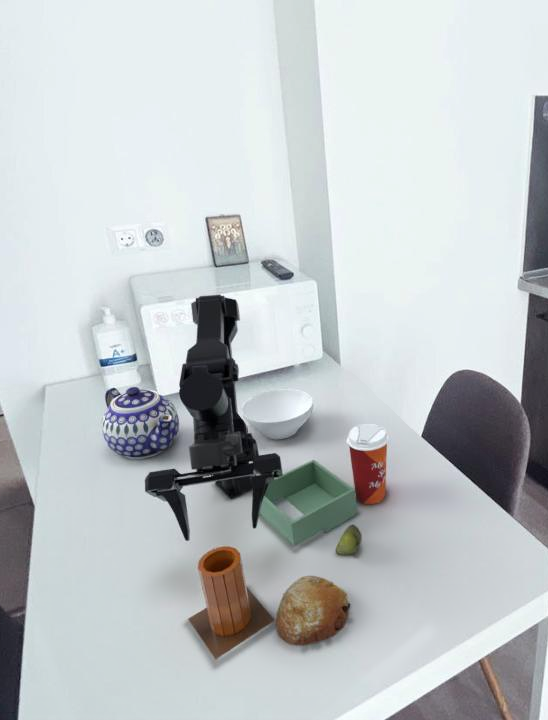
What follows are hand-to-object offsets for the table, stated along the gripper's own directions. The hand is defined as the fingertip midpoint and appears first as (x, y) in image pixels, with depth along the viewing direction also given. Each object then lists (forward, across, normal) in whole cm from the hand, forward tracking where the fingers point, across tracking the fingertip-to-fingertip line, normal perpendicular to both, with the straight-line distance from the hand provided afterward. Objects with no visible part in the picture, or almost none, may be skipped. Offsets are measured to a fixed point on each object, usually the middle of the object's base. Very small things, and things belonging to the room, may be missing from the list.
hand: (221, 534), depth 78 cm
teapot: (-26, -20, +43) cm, 54 cm away
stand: (+12, 0, +5) cm, 13 cm away
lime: (+5, +18, +12) cm, 23 cm away
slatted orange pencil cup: (+12, 0, +4) cm, 12 cm away
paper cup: (-4, +25, +21) cm, 33 cm away
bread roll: (+14, +12, +3) cm, 18 cm away
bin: (-3, +12, +20) cm, 23 cm away
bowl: (-25, +9, +42) cm, 50 cm away
